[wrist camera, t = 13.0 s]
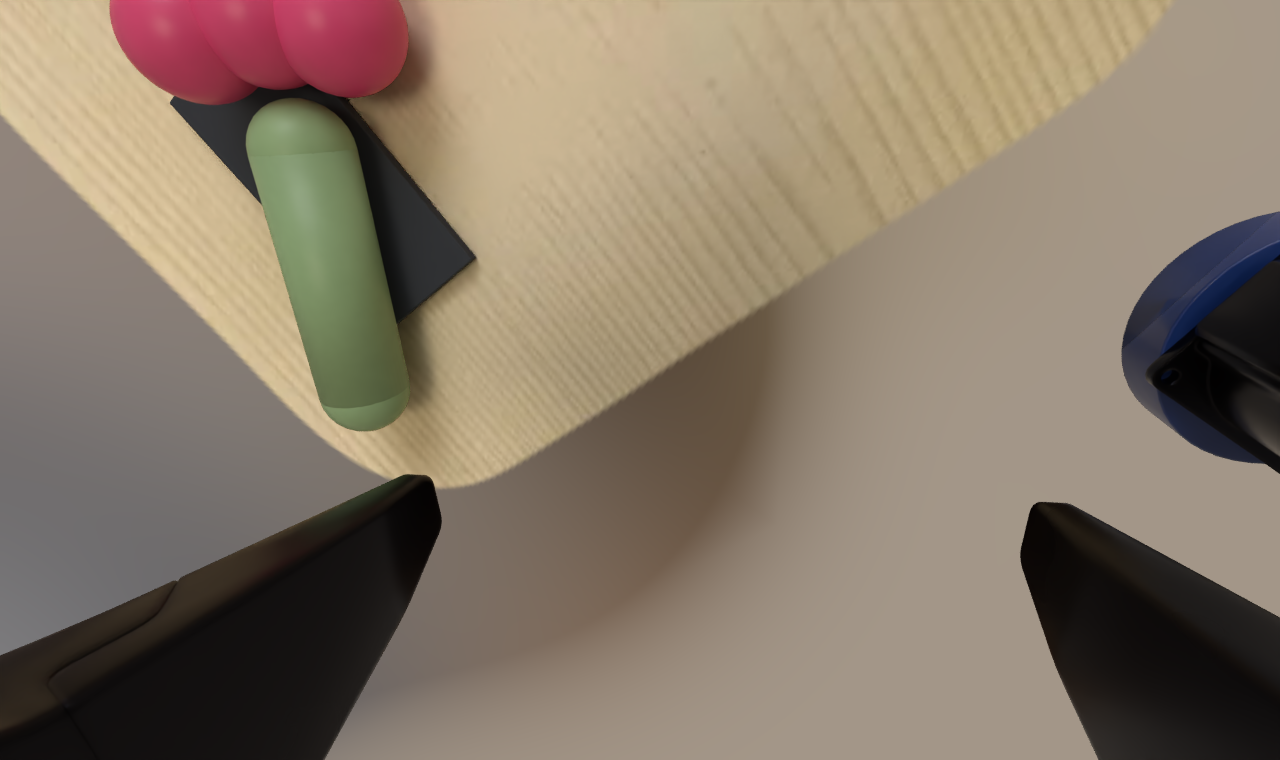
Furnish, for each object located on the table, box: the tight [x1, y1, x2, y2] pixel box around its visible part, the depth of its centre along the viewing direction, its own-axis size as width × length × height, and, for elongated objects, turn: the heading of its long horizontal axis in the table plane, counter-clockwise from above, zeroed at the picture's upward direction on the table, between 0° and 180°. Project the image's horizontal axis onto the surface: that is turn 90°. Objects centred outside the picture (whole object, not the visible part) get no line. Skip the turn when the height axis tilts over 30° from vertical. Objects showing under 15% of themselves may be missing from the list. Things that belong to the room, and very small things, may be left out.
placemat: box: [170, 84, 475, 324], centre depth 21 cm, size 10×5×1 cm, turn 38°
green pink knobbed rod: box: [110, 0, 410, 431], centre depth 19 cm, size 15×8×4 cm, turn 3°
